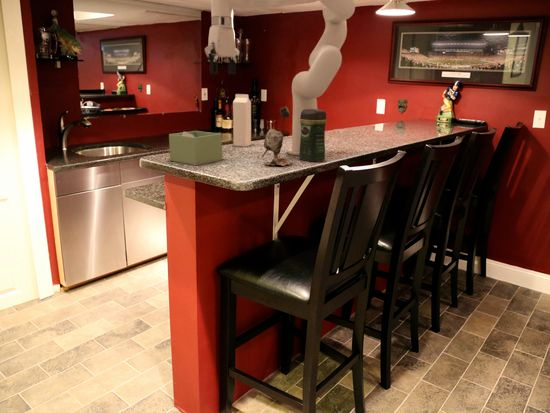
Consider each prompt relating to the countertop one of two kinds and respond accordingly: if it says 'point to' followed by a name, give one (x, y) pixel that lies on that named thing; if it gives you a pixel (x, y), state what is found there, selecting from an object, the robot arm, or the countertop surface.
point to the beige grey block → (187, 134)
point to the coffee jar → (312, 135)
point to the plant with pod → (276, 141)
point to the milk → (242, 120)
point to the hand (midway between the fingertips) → (223, 73)
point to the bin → (195, 147)
